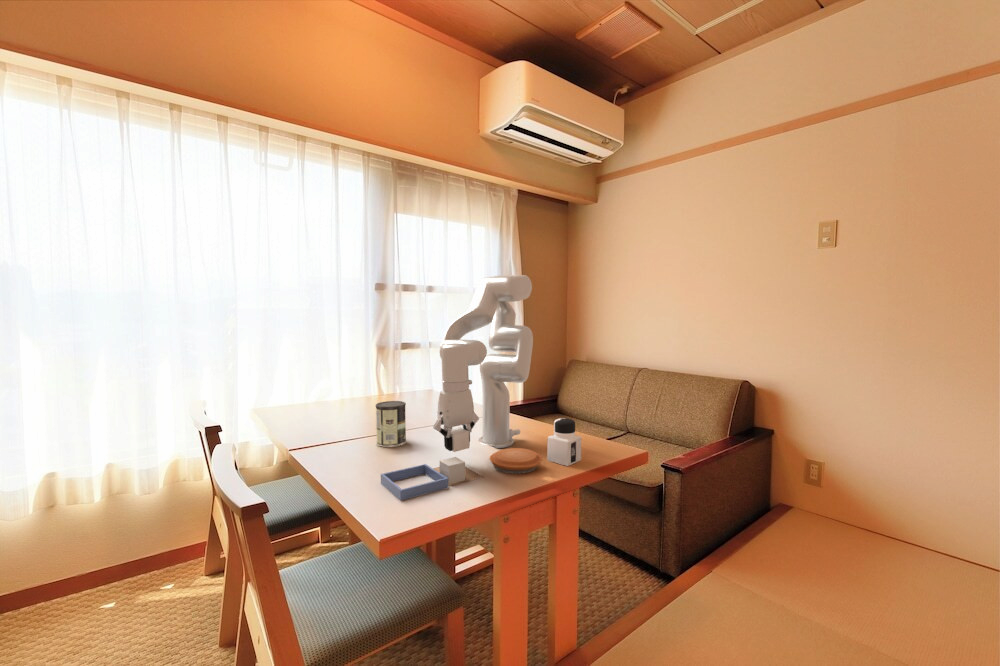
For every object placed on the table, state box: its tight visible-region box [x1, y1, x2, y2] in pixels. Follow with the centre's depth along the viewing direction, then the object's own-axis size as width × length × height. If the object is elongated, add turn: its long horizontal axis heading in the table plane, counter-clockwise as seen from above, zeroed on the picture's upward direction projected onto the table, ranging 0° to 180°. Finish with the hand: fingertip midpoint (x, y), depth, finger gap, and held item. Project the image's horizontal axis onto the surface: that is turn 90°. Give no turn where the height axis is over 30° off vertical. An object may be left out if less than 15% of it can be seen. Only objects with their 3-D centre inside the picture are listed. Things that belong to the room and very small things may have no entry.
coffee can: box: [375, 400, 407, 448], centre depth 151 cm, size 10×10×14 cm
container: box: [546, 417, 582, 467], centre depth 133 cm, size 8×8×13 cm
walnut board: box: [432, 465, 484, 487], centre depth 120 cm, size 11×14×1 cm
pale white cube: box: [439, 456, 466, 485], centre depth 115 cm, size 5×5×5 cm
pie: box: [489, 447, 543, 474], centre depth 126 cm, size 15×16×5 cm
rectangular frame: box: [380, 463, 449, 501], centre depth 111 cm, size 13×13×4 cm
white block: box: [451, 426, 470, 453], centre depth 125 cm, size 5×5×5 cm
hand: (457, 446), depth 125 cm, fingers closed on white block, 5 cm apart
